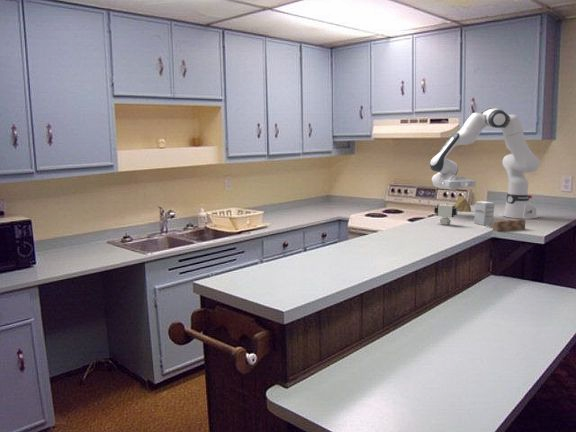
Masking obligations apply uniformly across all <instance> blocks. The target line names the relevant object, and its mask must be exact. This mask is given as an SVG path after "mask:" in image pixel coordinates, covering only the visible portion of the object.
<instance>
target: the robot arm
mask: <svg viewBox="0 0 576 432" xmlns="http://www.w3.org/2000/svg"><path fill="white" fill-rule="evenodd" d="M486 127H491V128H495V129H501V131H502V135H503V139H504V143H505V148H506V149H507V150H509V151H510V153H508V154H506V155H505V156H504V157H503V159H502V167H503V168H504V169H505V171H506V174H507V180H508V185H507V186H508V187H507V190H508V191H507V193H506V202H505V207H504V210H503V211H504V212H503V213H502V216H503V217H505V218H510V219H513V218H514V219H523V220H530V219H536V218H538V217H539V218H541V215H539V214H537V207H536V206H535V205H534V204H533V203H532V202H531V201H530V200H531V199H533V195H530V194H529V195H528V192H529V191H528V190H529V180H528V179H527V178H526V176H525V173H531V172H535V171H537V170H538V169H539V167H540V160H539V157H537V156H536V155H535V154H534V153H533V151H531V149H530V147H529V146H528V143H527V142H526V138H525V134H524V129H523V127H522V124H521V121H520V119H519V116H517V115H516V114H507V112H505V111H504V110H502V109H500V108H497V107H495V108H493V107H491V108H490V107H489V108H487V109H485V110H484V111H483V112H472V114H470V116H469V117H468V118H467V120H466V121H465V122H464V124H463V125H462V126H461V128H460V129H459V130H458V131H457V132H455V133H453V134H451V136H450V137H449V138H448V139H447V140H446V142H445V143H444V144H443V145H442V146H441V147H440V150H438V152H437V153H436V154H435V155H434V156H433V157H432V158H431V159H430V162H429V167H430V169H431V170H432V171H433V172H436V173H435V174H433V176H432V177H431V183H432V184H433V186H434V187H435V188H439V189H445V190H451V191H456V190H458V189H459V190H460V189H465V188H474V187H475V188H476V180H474V179H470V178H466V177H464V176H458V175H457V174H458V171H459V167H458V163H457V162H455V161H454V160H451V159H449V158H447V156H448V155H449V154H450V153H451V152H452V150H453V149H454V148H455V147H457V146H459V145H460V146H462V145H463V146H464V145H466V146H467V145H472V144H473V143H474V142H476V140H478V138H479V136H480V134H481V132H482V131H483V129H484V128H486Z"/></svg>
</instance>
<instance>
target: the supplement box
mask: <svg viewBox="0 0 576 432" xmlns="http://www.w3.org/2000/svg"><path fill="white" fill-rule="evenodd" d="M474 207H475V208H474V220H473V223H474V224H476V225H481V226H486V224H489V225H493V221H494V215H495V214H494V212H495V211H494V210H495V202H493V201H492V202H491V201H486V200H482V201H479V200H478V201H475V206H474Z"/></svg>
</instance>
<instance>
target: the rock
mask: <svg viewBox="0 0 576 432" xmlns="http://www.w3.org/2000/svg"><path fill="white" fill-rule="evenodd" d="M454 205H455V207H456V208H458V212H472V207H471V206H470V203H469V202H468V201H467V199H466V198H465V197H464V196H463V195H458V198H457V199H456V202H455V204H454Z"/></svg>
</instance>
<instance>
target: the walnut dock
mask: <svg viewBox="0 0 576 432" xmlns="http://www.w3.org/2000/svg"><path fill="white" fill-rule="evenodd" d="M526 220H527V219H522V218H515V219H503V220H502V219H501V220H493V224H492V225H489V224H486V225H485V228H488V227H489V229H492V228H493V229H492V231H494V232H505V231H517V230H525V229H526V222H527V221H526Z"/></svg>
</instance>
